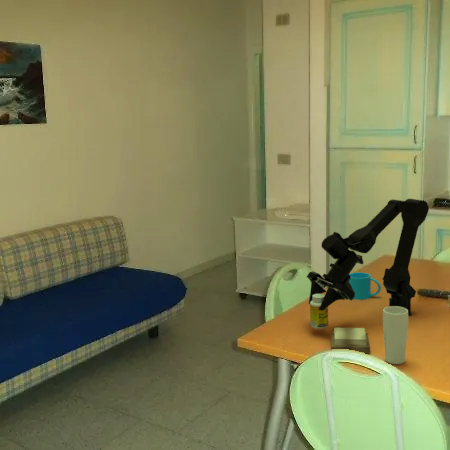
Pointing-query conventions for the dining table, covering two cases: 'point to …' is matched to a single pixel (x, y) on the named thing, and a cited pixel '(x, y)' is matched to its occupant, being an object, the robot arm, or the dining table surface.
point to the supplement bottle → (318, 312)
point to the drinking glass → (395, 333)
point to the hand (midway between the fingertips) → (315, 307)
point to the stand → (350, 339)
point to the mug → (362, 285)
